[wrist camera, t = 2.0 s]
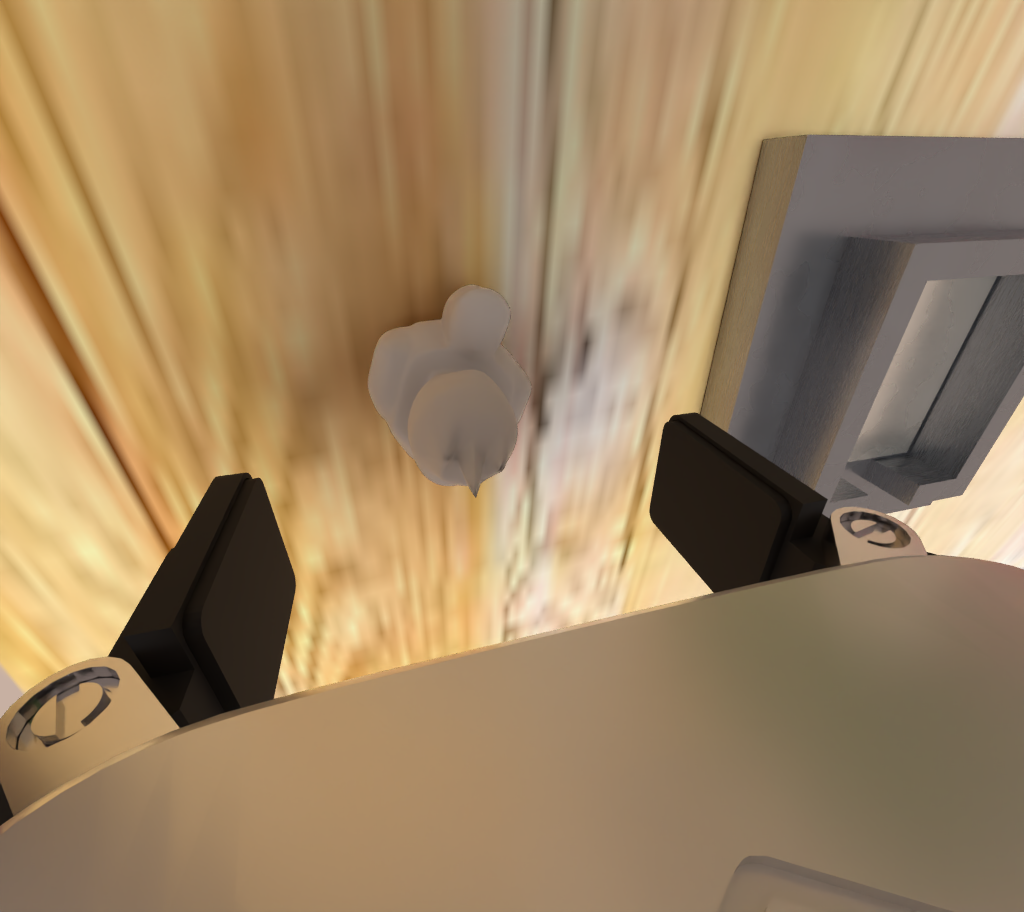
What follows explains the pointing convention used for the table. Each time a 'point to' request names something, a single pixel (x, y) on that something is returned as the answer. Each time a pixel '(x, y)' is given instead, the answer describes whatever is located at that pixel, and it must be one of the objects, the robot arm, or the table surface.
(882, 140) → the plate
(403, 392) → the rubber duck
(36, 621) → the table surface
